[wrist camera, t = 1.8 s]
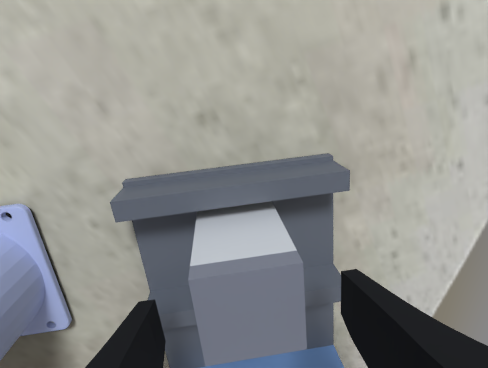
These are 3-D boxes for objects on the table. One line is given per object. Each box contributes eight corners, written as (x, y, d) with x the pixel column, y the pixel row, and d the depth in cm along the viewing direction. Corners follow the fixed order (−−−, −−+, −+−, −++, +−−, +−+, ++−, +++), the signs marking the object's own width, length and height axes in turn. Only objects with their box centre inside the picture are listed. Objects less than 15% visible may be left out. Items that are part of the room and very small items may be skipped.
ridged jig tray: (191, 438, 22) (188, 482, 19) (125, 179, 15) (108, 196, 13) (330, 412, 23) (344, 452, 20) (328, 153, 16) (349, 165, 13)
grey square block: (208, 271, 17) (205, 366, 11) (197, 209, 15) (188, 280, 10) (275, 261, 17) (306, 349, 11) (270, 199, 16) (303, 262, 10)
